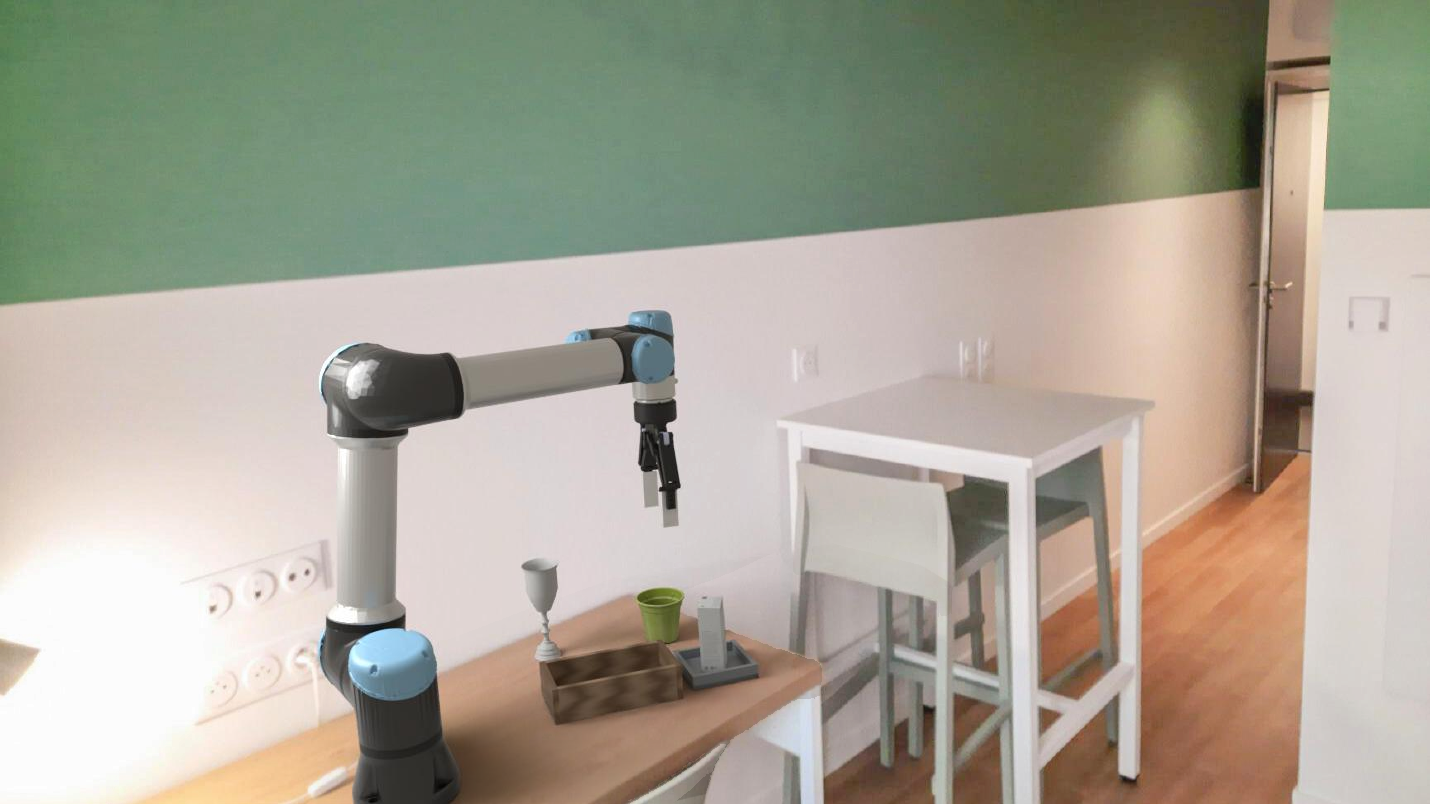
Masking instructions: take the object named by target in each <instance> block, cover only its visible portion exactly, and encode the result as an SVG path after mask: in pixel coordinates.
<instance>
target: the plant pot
mask: <svg viewBox="0 0 1430 804" xmlns="http://www.w3.org/2000/svg"><path fill="white" fill-rule="evenodd" d="M684 599H685V593H684V592H683V591H682V590H680V589H678V588H674V587H667V586H666V587H665V586H664V587H654V588H648V589H645V590H642V591H640V592H639V593H637V594H636V596H635V601H636V603H637V604H638V608H639V610H640V613H641V614H640V615H641V617H642V622H643V623H642V624H643V627H644V633H645V639H646V640H647V642H650V641H655V640H661V639H662V641H663V642H664V643H665V644H671V643H673V642H675V641H676V640H678V638H679V630H680V628H679V627H680V616H681V608H682V605H683V600H684Z"/></svg>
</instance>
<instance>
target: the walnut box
mask: <svg viewBox="0 0 1430 804" xmlns="http://www.w3.org/2000/svg"><path fill="white" fill-rule="evenodd" d="M538 666H539V677H540V689H541V690H540V691H541V696H542V698H543V701H544V703H545V705H546V707H547V709H548V712H549V715H550V716H552V717H551V718H552V719H551V720H552V721H553V724H554V725H561V724H565V723H570V722H574V721H579V720H581V721H582V720H584V719H585V720H586V719H589V718H594V717H599V716H605V715H608V714H613V713H618V712H624V711H629V710H630V711H631V710H633V709H638V708H644V707H649V706H654V705H657V704H662V703H668V702H673V701H677V700H678V701H679V700H683V699H684V685H683V684H684V682H683V676H682V666H681V664H680V663H679V662H678V660H677V659H676V658H675V656H674V655H673V651H671V650H670V649H669V647H668V646H667V645H666V643H664V642H663V641H662V639H661V640H655V641H650V642H648V641H644V642H640V643H634V644H630V645H629V644H628V645H624V646H618V647H613V648H607V649H602V650H598V651H591V652H586V653H581V654H575V655H570V656H564V657H558V658H556V659H553V660H547V661H539V662H538Z"/></svg>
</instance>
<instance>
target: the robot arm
mask: <svg viewBox="0 0 1430 804" xmlns="http://www.w3.org/2000/svg"><path fill="white" fill-rule="evenodd" d="M674 338H675V334H674V327H673V319H672V315H671V314H670V313H669V312H668V311H667V310H660V309H659V310H657V309H656V310H654V309H651V310H646V309H645V310H639V311H633V312H631V313H630V314H629V315H628V322H627V324H625V325H620V326H611V327H600V328H590V329H589V328H585V329H581V330H576V331H573V332H571V333H569V335H568V336H567V338H566V340H565V343H561V344H553V345H546V346H539V347H532V348H523V349H516V350H509V351H507V350H506V351H501V352H494V353H486V354H479V355H472V356H466V357H465V356H463V357H457V356H456V355H455V354H453V353H452V352H450V351H448V352H440V353H415V352H407V351H401V350H399V349H398V350H397V349H392V348H387V347H386V346H383V345H381V344H380V343H373V342H372V343H370V342H367V341H366V342H358V343H357V342H355V343H350V344H347V345H344V346H342V347H340V348H338V349H337V350H335V351H334V352H333V353H332V354H331V355H330V356H329V357H328V358H327V359H326V360H325V362H324V363H323V365H322V367H321V370H320V374H319V379H318V386H319V389H318V390H319V393H320V395H321V398H322V401H323V402H324V404H325V406H326V425H327V426H326V430H327V431H326V434H327V437H329V438H330V439H331V440H332V441H333V442H334V443H335V444H336V446H337V503H336V505H337V510H336V511H337V515H336V516H337V517H336V520H337V522H336V523H337V524H336V526H337V527H336V530H337V531H336V532H337V533H336V534H337V535H336V601H335V602H334V603H332V604H331V606H330V607H329V608H328V609H327V610H326V612H325V628H323V631H322V632H321V634H320V637H319V640H318V642H317V643H318V645H317V659H318V663H319V666H320V669H321V671H322V673H323V674H324V677H325V678H326V679H327V681H328V682H329V683H330V684H331V685H332V686H334V687H335V689H337V690H338V692H339V693H340V695H341V696H342V697H343V698H345V700H346V701H347V702H348V703H349V705H350V706H351V707H352V708H353V711H354V715H355V721H356V722H355V723H356V731H357V737H358V744H359V745H358V746H359V756H358V757H359V758H358V761H357V765H356V771H355V773H354V778H353V783H352V787H351V788H352V789H351V797H352V804H450V803H451V802H452V801H453V800H454V799H455V798H456V797H457V795H458V794H459V792H460V789H461V775H460V768H459V766H458V764H457V762H456V760H455V758H454V756H453V754H452V751H451V749H450V747H449V746H448V744H447V741H446V739H445V737H444V732H443V724H442V723H443V721H442V713H441V702H440V692H439V691H440V690H439V683H438V673H437V672H438V662H437V657H436V655H435V652H434V647H433V644H432V642H431V641H430V639H429V638H428V637H426V635H424V634H422V633H420V632H418V631H417V630H413V629H409V630H406V629H407V627H406V625H407V624H406V622H407V620H406V618H407V612H406V610H407V609H406V606H405V605H404V604H403V603H402V602H400V601H399V600H398V599H397V595H396V594H397V543H398V542H397V539H398V538H397V536H398V535H397V534H398V533H397V530H398V529H397V528H398V527H397V526H398V524H397V523H398V520H397V519H398V464H399V463H398V462H399V461H398V459H399V458H398V457H399V456H398V455H399V453H398V452H399V445H400V444H401V443H402V442H403V441H404V440H405V439H406V438H407V437H408V436H409V429H410V428H411V429H412V428H415V427H421V426H425V425H431V424H436V423H440V422H446V421H451V420H456V419H461V417H463V415H464V413H466V411H468V410H473V409H474V410H475V409H479V408H485V407H492V406H497V405H503V404H510V403H511V404H512V403H516V402H521V401H527V400H533V399H538V398H545V397H552V396H557V395H565V394H569V393H575V392H582V391H587V390H592V389H600V388H605V387H611V386H619V385H625V384H631V387H632V388H631V389H632V391H631V393H632V398H633V399H634V400H635V401H634V402H633V420H634V422H635V423H637V424H639V425H640V426H639V427H640V431H639V432H640V433H639V446H638V458H637V460H638V461H637V464H638V466H639V467H640V471H641V479H642V480H641V483H642V484H641V486H642V497H643V498H642V502H643V508H644V509H647V508H653V507H659V506H660V505H661V520H662V521H661V522H662V523H661V524H662V526H661V527H662V528H672V527H673V528H674V527H679V507H678V506H679V505H678V503H679V502H678V490H679V489H681V488H682V487H681V486H682V484H681V480H680V475H679V474H680V473H679V468H678V462H677V456H676V455H677V454H676V450H675V444H674V432H673V431H668V427H667V424H669V423H672V422H675V421H676V420H677V419H678V411H677V410H678V409H677V400H676V399H675V398H674V397H676V386H675V385H676V384H678V383H679V379H678V378H676V377H675V376H676V375H675V374H676V373H675V372H676V371H675V368H676V367H675V364H676V363H675V361H676V360H675V359H676V358H675V348H674V347H675V346H674V340H675V339H674ZM658 475H659V481H660V483H661V486H658V485H659V483H658ZM659 493H660V503H661V504H660V505H659Z"/></svg>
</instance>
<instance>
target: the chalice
mask: <svg viewBox="0 0 1430 804" xmlns="http://www.w3.org/2000/svg"><path fill="white" fill-rule="evenodd" d="M558 565H559V560H558V559H556V558H553V557H538V558H533V559H530V560H527V561H525V562H523V563H522V564H521V567H520V568H521V569H522V571H523V572H524V580H525V590H526V591H525V592H526V595H527V596H528V599H529V601H530V603H531V605H532V606H533V607H534V609H535V611H536V612H538V613H541V614H540V615H541V620H540V623H541V624H542V629H541V631H540V632H541V634H542V635H543V640H542V641H541V642H539V644H538V645H537V646H536V650H535V653H534V656H533V657H534V659H535V660H536V661H539V662H542V661H547V660H553V659H558V658H561V656H562V652H561V651H560V648H559V647H558V645H557V643H556V642H555V641H553V640H551V639H550V637H549V636H550V632H551V629H549V627H548V626H549V623H550V620H549V619H548V614H547V613H548V612H549V611H551V610H552V607H553V605H554V603H555V601H556V597H557V592H558V589H559V583H558V572H557V568H558Z"/></svg>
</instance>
